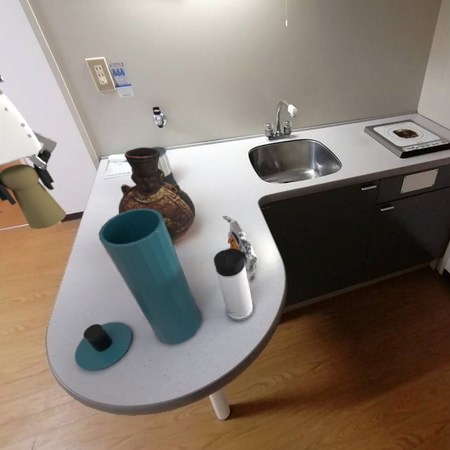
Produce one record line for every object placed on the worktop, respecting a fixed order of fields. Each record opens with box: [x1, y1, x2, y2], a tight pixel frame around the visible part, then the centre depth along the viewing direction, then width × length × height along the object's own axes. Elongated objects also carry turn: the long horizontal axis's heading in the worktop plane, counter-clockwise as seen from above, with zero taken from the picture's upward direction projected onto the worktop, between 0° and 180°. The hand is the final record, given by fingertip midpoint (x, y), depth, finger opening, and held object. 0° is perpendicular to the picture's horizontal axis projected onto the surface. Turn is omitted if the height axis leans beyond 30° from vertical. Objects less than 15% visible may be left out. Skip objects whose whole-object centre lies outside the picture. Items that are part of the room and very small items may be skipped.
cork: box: [0, 163, 67, 230], centre depth 55 cm, size 6×6×11 cm
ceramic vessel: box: [118, 146, 196, 244], centre depth 89 cm, size 21×18×30 cm
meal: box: [222, 215, 258, 281], centre depth 85 cm, size 15×4×13 cm, turn 35°
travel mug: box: [213, 248, 254, 322], centre depth 71 cm, size 6×7×20 cm
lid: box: [74, 321, 133, 372], centre depth 68 cm, size 11×11×7 cm
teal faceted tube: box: [98, 208, 202, 345], centre depth 64 cm, size 10×10×32 cm
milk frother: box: [130, 146, 178, 184], centre depth 114 cm, size 14×16×15 cm
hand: (30, 193), depth 55 cm, fingers closed on cork, 5 cm apart
